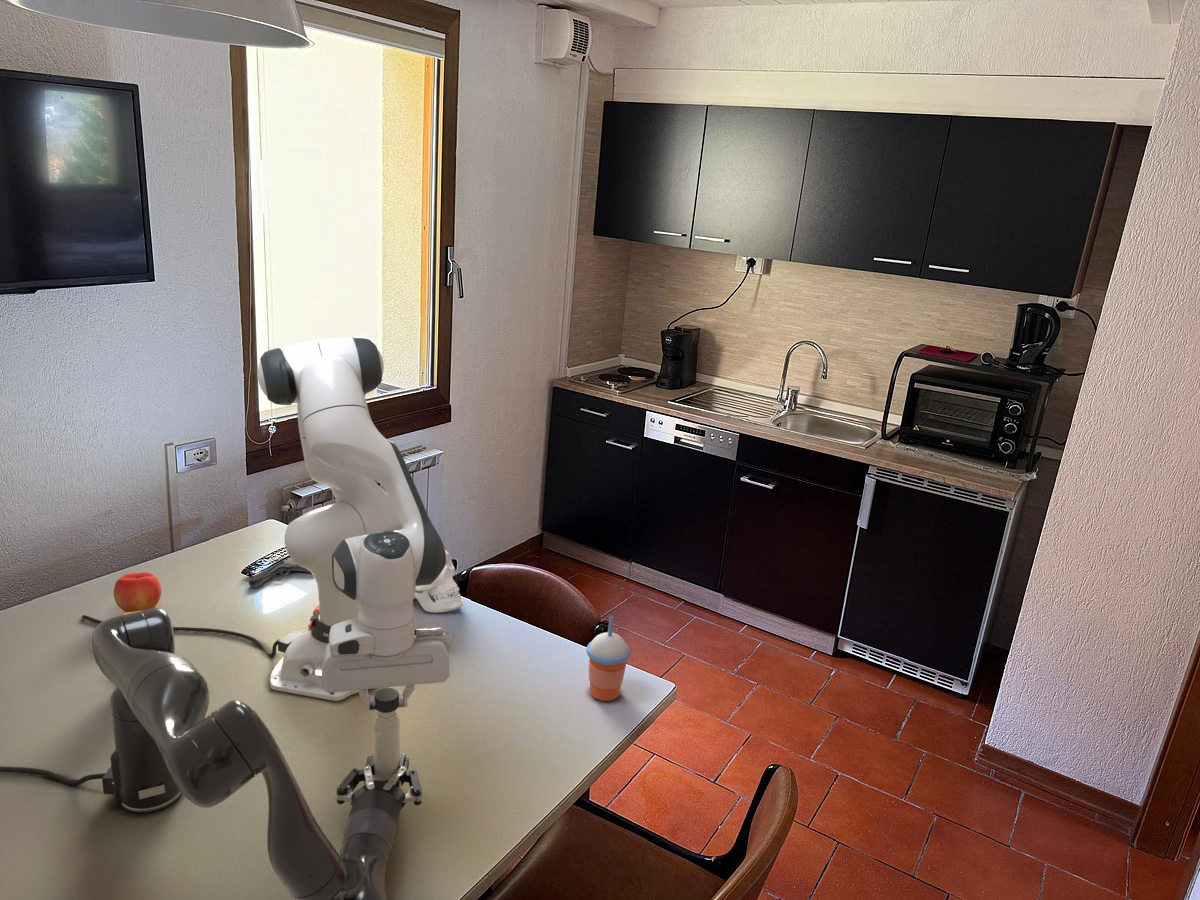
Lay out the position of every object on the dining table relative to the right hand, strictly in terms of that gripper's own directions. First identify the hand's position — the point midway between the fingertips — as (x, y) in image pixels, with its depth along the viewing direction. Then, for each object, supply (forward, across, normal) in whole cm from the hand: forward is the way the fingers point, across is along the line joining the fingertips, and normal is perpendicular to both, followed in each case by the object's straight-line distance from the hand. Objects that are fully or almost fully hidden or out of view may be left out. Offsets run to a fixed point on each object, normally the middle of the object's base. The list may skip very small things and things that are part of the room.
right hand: (386, 706), depth 140 cm
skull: (+18, -13, -70) cm, 74 cm away
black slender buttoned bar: (+18, +20, -89) cm, 93 cm away
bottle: (+18, 0, 0) cm, 18 cm away
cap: (-2, 0, 0) cm, 2 cm away
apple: (+18, +51, -73) cm, 91 cm away
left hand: (+12, -1, -3) cm, 12 cm away
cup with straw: (+18, -46, -24) cm, 55 cm away
